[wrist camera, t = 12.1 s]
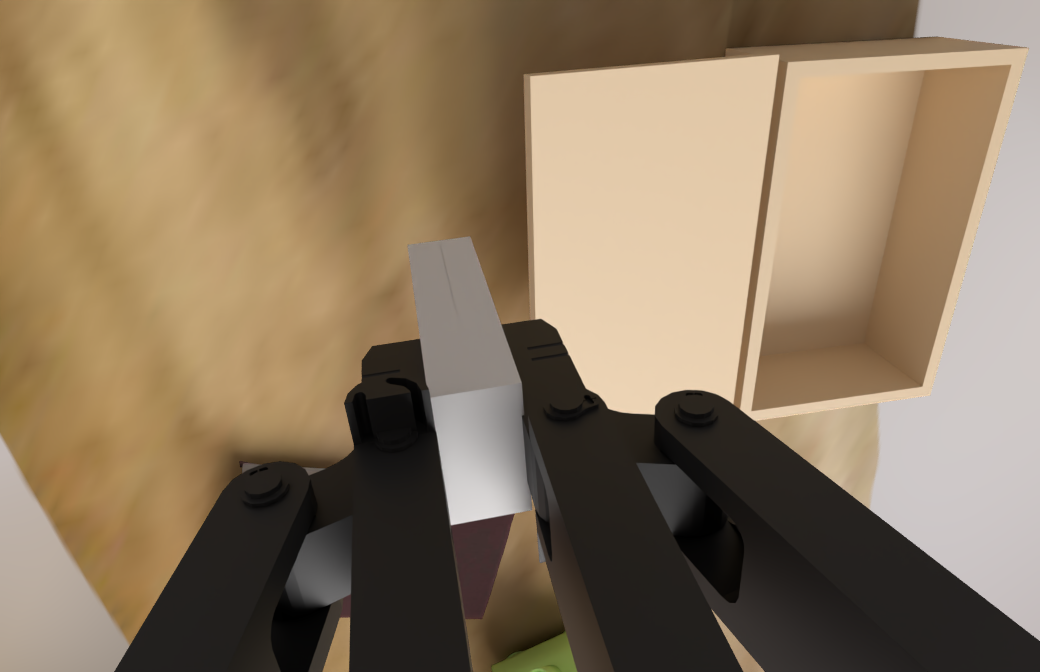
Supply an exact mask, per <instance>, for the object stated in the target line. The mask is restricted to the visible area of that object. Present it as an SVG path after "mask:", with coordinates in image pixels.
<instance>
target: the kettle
mask: <svg viewBox="0 0 1040 672" xmlns="http://www.w3.org/2000/svg"><path fill="white" fill-rule="evenodd" d="M491 669H492V672H577V669H576V666H575V662H574V659H573V655H572V652H571V648H570V645H569V641H568V638H567V634H566V631H564V632H563V633H562V634H560V635H558V636H556V637H554V638H551V639H549V640H547V641H545V642H542V643H540V644H538V645H536V646H534V647H532V648H529V649H527V650H525V651H519V652H515V653H512V654H511V655H509V656H508V657H507V659H505V660H503V661H501V662H499V663H496V664H494V665H492V666H491Z"/></svg>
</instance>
